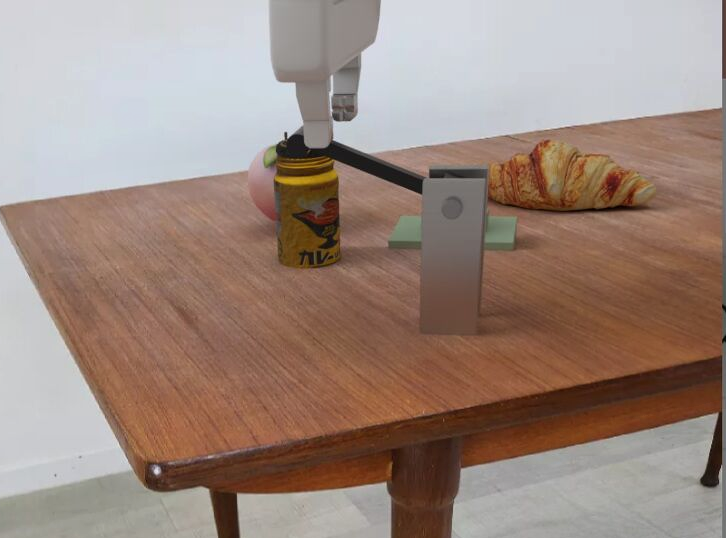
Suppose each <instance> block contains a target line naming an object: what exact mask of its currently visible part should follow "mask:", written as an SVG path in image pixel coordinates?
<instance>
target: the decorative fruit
mask: <svg viewBox="0 0 726 538" xmlns="http://www.w3.org/2000/svg"><path fill="white" fill-rule="evenodd" d="M283 136H284V140H285V139H288V132H287V131H284V132H283ZM277 144H278V143H273V144H270V145H268V146H266V147H263V148H262V149H261V150H260V151H259V152H257V154H256V155H255V156H254V158H253V160H252V161H251V162H250V164H249V166H248V171H247V188H248V192H249V195H250V198H251V200H252V202H253V204H254V205H255V206H256V208H257V209H258V211H260V212H261V213H262V214H263V215H264V216H265V217H267V218H269V219H270V220H271V221H273V222H275V223H276V211H275V199H274V197H275V196H274V175H275V174H276V172H277V169H276V160H277V153H276V150H275V149H276V145H277Z"/></svg>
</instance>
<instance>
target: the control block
mask: <svg viewBox="0 0 726 538" xmlns="http://www.w3.org/2000/svg"><path fill="white" fill-rule="evenodd" d="M489 214H490V207H489V206H487V215H486V232H485V249H484V251H514V250H515V246H516V241H517V230H518V229H517V228H518V216H495V215H493V216H492V215H491V216H490V215H489ZM421 230H422V211H421V215H401V216H400V218H399V220H398V221H397V224H396V225H395V227H394V229H393V231H392V232H391V235H390V236H389V239H388V241H387V242H388V243H387V245H388V246H387V249H388V250H389V249H392V250H393V249H396V250H421Z"/></svg>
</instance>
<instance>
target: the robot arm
mask: <svg viewBox="0 0 726 538" xmlns="http://www.w3.org/2000/svg"><path fill="white" fill-rule="evenodd" d="M381 4H382V1H381V0H268V26H269V27H268V28H269V30H268V31H269V32H268V33H269V54H270V55H269V57H270V63H271V68H272V72H273V75H274V78H275V80H276V81H277V82H278V83H287V84H288V83H291V84H293V83H295V98H296V101H297V104H298V108H299V112H300V116H301V119H302V123H303V124H302V126H303V127H304V143H305V145H306V146H307V147H308V148H326V147H327V146H328V145H329V144H330V143H331V142H332V140H334V121H335V122H338V123H340V122H341V123H342V122H351V121H353V120H354V119H355V118H356V117H357V115H358V113H359V107H358V106H359V105H358V104H359V102H358V93H359V87H360V81H361V80H360V79H361V71H362V53H363V52H364V51H365V50H367V49H368V48H369V47H371V46H372V45H373V44H374V43H376V39H377V35H378V30H379V24H380V19H381ZM331 77H332V79H331ZM331 91H332V95H331V96H330V93H331Z"/></svg>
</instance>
